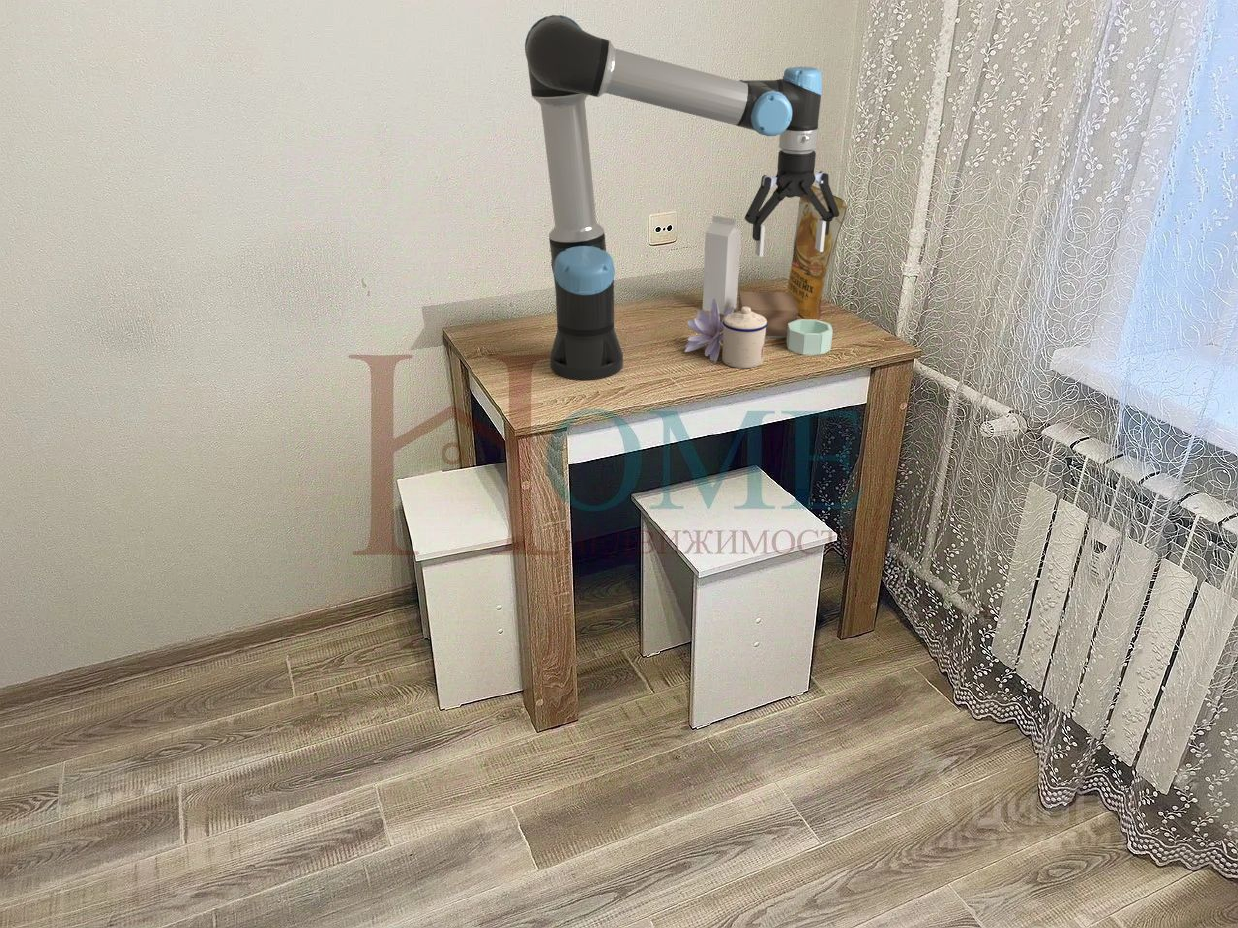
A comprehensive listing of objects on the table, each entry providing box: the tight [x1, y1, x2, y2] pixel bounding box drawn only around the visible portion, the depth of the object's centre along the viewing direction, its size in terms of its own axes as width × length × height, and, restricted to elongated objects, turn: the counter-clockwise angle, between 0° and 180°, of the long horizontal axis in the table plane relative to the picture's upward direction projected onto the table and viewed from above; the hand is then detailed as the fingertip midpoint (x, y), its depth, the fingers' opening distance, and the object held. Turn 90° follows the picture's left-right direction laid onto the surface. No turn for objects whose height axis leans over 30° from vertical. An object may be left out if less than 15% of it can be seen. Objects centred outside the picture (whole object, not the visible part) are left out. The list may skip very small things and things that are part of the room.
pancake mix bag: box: [787, 185, 848, 320], centre depth 214 cm, size 7×19×28 cm, turn 14°
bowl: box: [785, 318, 834, 356], centre depth 199 cm, size 9×9×5 cm
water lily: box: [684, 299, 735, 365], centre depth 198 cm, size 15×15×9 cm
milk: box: [702, 215, 742, 316], centre depth 216 cm, size 6×6×22 cm
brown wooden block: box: [737, 291, 799, 336], centre depth 210 cm, size 12×12×6 cm
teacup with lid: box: [721, 307, 767, 369], centre depth 193 cm, size 12×9×12 cm
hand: (789, 252), depth 200 cm, fingers open, 13 cm apart
